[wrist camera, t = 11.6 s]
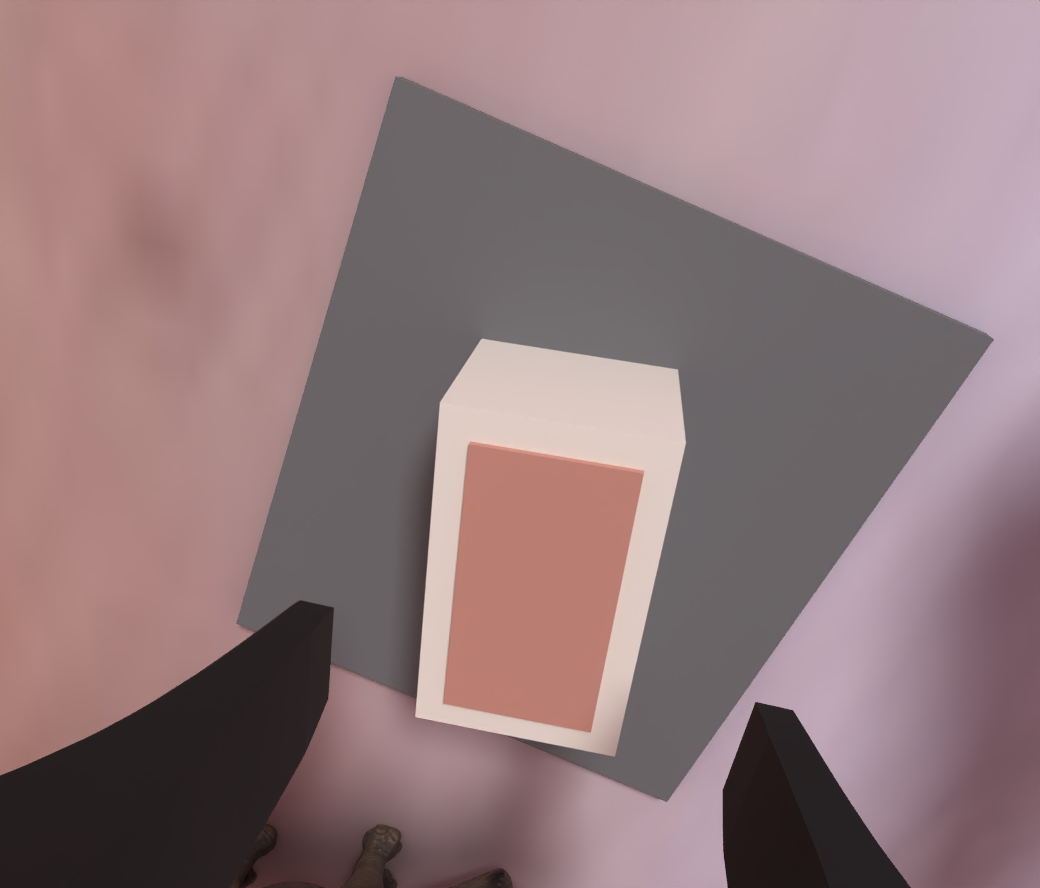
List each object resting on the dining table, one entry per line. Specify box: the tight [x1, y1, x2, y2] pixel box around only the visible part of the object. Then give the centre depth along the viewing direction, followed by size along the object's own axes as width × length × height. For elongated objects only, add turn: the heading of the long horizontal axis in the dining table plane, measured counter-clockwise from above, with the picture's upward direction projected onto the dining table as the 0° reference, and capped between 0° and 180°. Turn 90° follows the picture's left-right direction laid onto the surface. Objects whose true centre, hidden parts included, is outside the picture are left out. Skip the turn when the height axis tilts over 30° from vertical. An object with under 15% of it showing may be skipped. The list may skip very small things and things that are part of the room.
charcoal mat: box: [237, 77, 994, 802], centre depth 22 cm, size 15×17×1 cm
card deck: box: [415, 339, 686, 757], centre depth 20 cm, size 8×5×5 cm, turn 173°
